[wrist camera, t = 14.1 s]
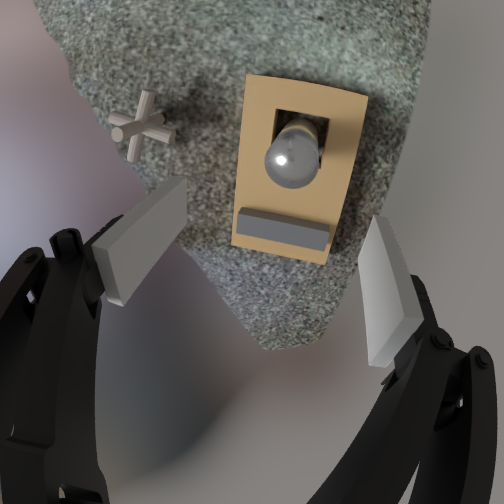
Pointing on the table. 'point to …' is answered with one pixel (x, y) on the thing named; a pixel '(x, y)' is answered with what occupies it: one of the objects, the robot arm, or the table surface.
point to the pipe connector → (140, 126)
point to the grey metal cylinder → (294, 155)
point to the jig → (302, 199)
